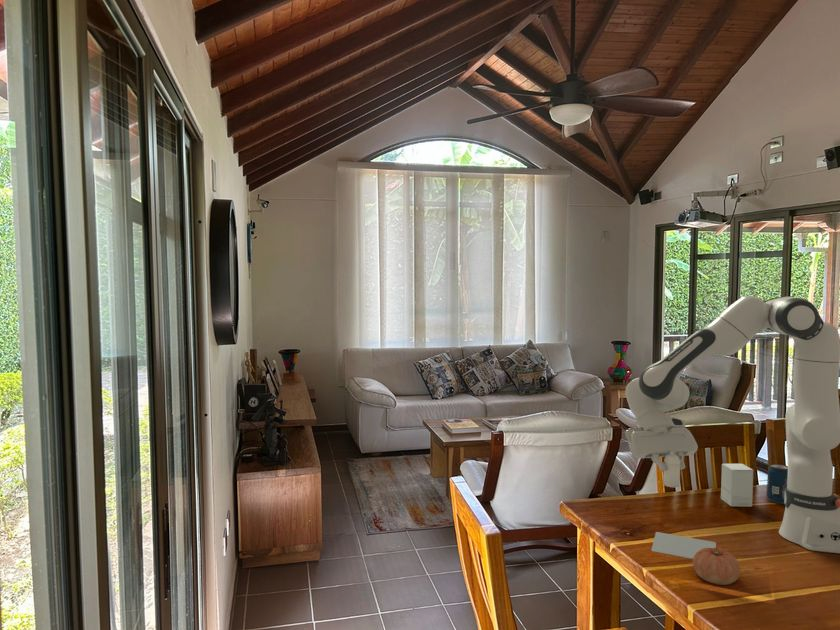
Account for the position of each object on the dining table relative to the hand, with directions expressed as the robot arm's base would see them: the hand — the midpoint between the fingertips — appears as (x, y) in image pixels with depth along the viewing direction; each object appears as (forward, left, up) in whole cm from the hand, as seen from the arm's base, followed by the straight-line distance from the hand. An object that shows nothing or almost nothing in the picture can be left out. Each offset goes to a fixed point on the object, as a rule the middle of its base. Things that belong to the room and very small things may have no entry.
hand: (673, 468), depth 173 cm
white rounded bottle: (0, -1, -5) cm, 5 cm away
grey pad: (-4, +4, -21) cm, 22 cm away
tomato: (-12, +20, -22) cm, 31 cm away
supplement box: (-18, -43, -22) cm, 51 cm away
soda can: (-31, -52, -22) cm, 64 cm away
